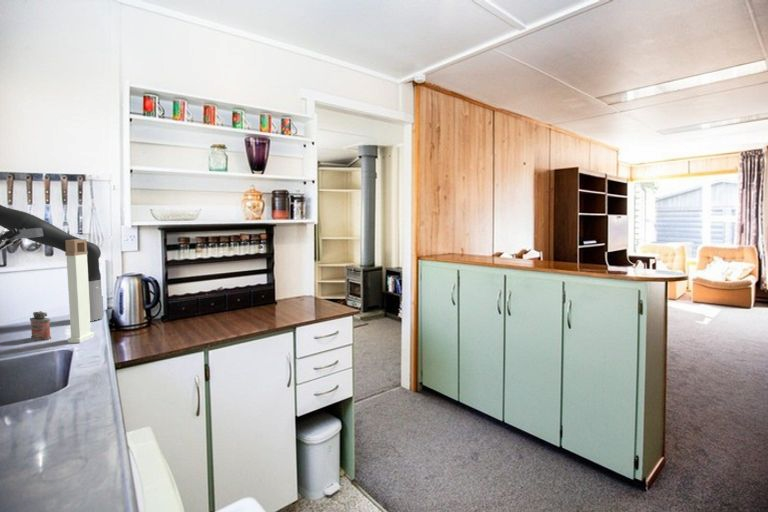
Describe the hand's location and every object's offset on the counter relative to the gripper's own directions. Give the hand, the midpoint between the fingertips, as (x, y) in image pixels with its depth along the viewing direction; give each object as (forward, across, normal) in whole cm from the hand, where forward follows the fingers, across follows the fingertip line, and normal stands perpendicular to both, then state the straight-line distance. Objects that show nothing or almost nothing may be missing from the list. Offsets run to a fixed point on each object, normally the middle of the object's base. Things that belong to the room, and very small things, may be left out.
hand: (20, 230), depth 143 cm
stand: (-3, 0, +43) cm, 43 cm away
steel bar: (0, 0, +3) cm, 3 cm away
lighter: (-16, +1, +36) cm, 40 cm away
